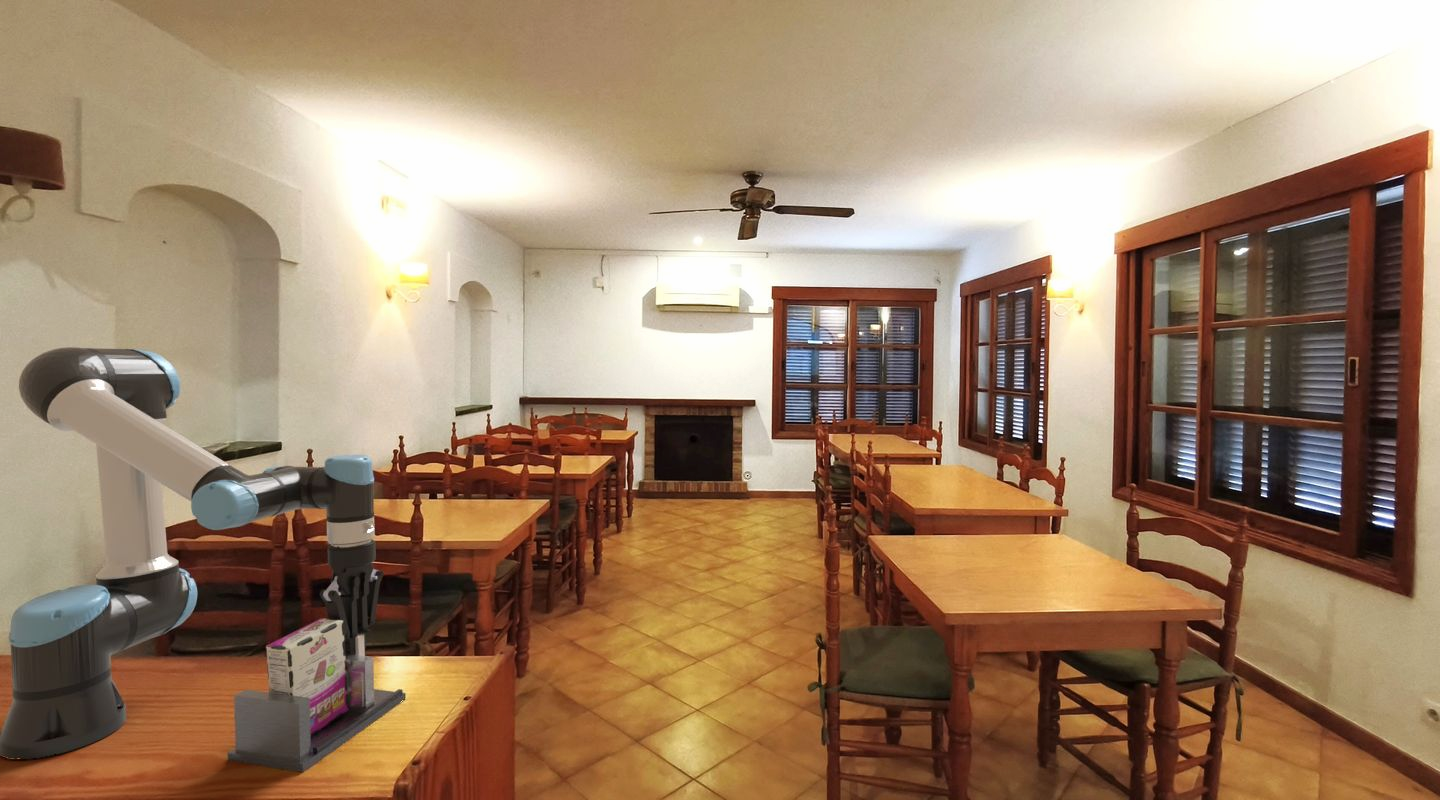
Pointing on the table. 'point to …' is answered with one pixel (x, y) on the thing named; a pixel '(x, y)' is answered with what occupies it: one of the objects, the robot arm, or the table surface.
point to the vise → (295, 728)
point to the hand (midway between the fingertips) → (355, 670)
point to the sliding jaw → (360, 682)
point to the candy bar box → (312, 669)
